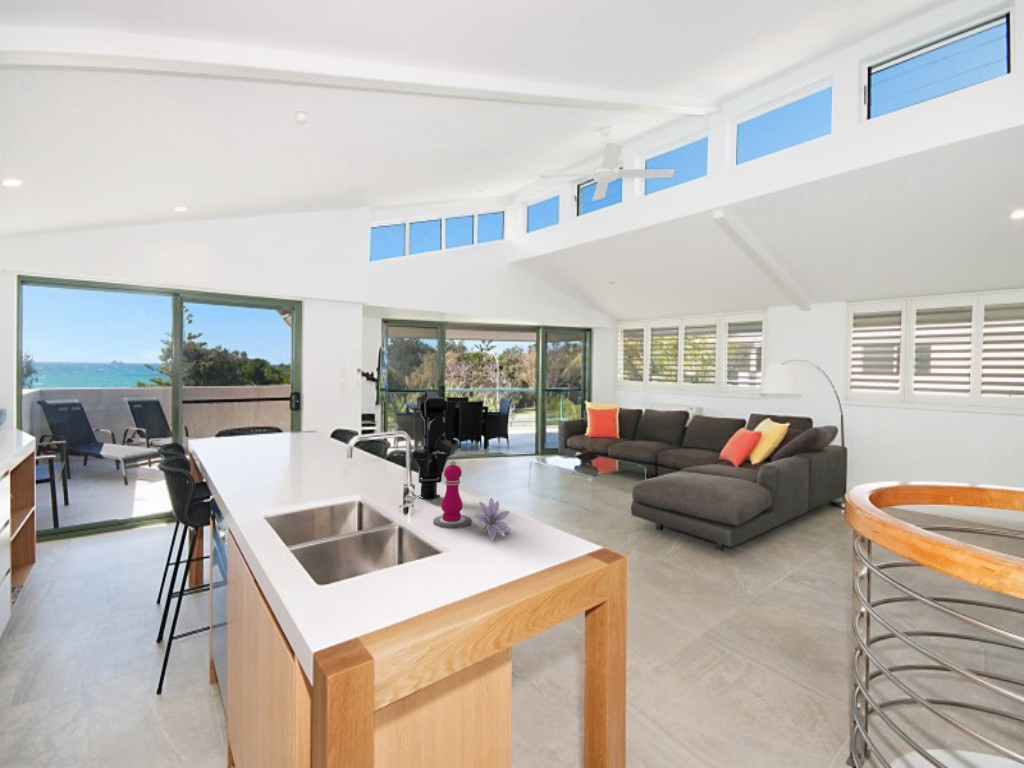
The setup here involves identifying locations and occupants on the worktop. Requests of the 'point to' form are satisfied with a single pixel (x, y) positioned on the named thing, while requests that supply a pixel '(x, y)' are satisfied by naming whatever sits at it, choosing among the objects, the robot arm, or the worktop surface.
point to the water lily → (493, 519)
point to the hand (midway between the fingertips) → (433, 475)
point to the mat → (461, 523)
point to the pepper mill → (452, 494)
